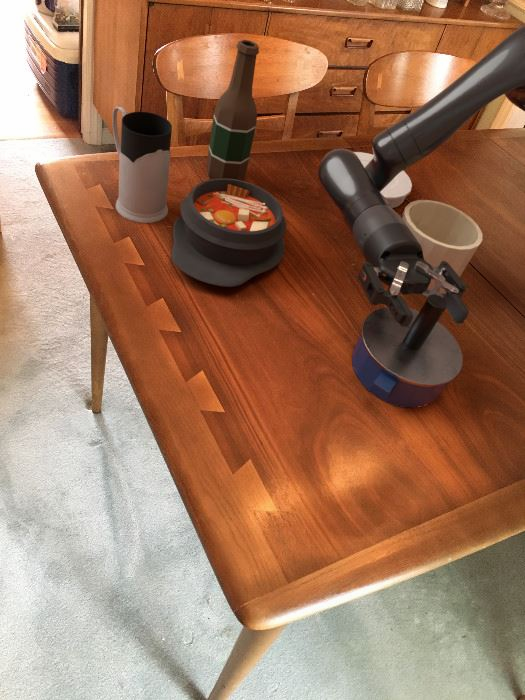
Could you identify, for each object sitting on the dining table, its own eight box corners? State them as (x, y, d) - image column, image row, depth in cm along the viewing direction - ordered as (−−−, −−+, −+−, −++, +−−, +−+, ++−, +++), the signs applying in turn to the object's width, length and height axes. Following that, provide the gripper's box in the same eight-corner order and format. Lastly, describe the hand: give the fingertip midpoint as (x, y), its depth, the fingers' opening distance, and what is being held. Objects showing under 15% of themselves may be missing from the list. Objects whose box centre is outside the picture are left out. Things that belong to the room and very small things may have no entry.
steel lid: (472, 348, 81) (505, 302, 74) (437, 408, 71) (471, 362, 65) (385, 297, 84) (409, 250, 78) (341, 348, 75) (364, 299, 68)
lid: (351, 151, 126) (355, 139, 124) (421, 197, 118) (427, 184, 116) (301, 168, 116) (305, 155, 113) (375, 219, 108) (380, 206, 106)
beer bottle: (230, 161, 112) (254, 32, 94) (252, 182, 108) (281, 52, 91) (197, 166, 107) (216, 33, 90) (219, 188, 104) (243, 54, 87)
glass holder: (132, 228, 91) (136, 142, 80) (90, 182, 97) (88, 96, 86) (177, 216, 95) (187, 133, 85) (134, 173, 101) (138, 91, 91)
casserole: (206, 193, 102) (213, 151, 96) (300, 230, 100) (313, 189, 94) (141, 266, 85) (144, 221, 79) (253, 312, 83) (265, 269, 77)
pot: (465, 271, 103) (492, 226, 95) (439, 306, 94) (467, 260, 87) (400, 236, 106) (422, 190, 99) (370, 267, 97) (392, 219, 90)
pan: (458, 359, 86) (475, 336, 82) (413, 437, 73) (430, 413, 70) (382, 314, 89) (395, 289, 85) (326, 381, 77) (338, 356, 73)
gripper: (351, 220, 77) (400, 301, 67) (437, 221, 81) (495, 297, 71) (334, 262, 82) (378, 343, 72) (416, 261, 87) (467, 337, 77)
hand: (436, 320), depth 72 cm, fingers open, 8 cm apart
